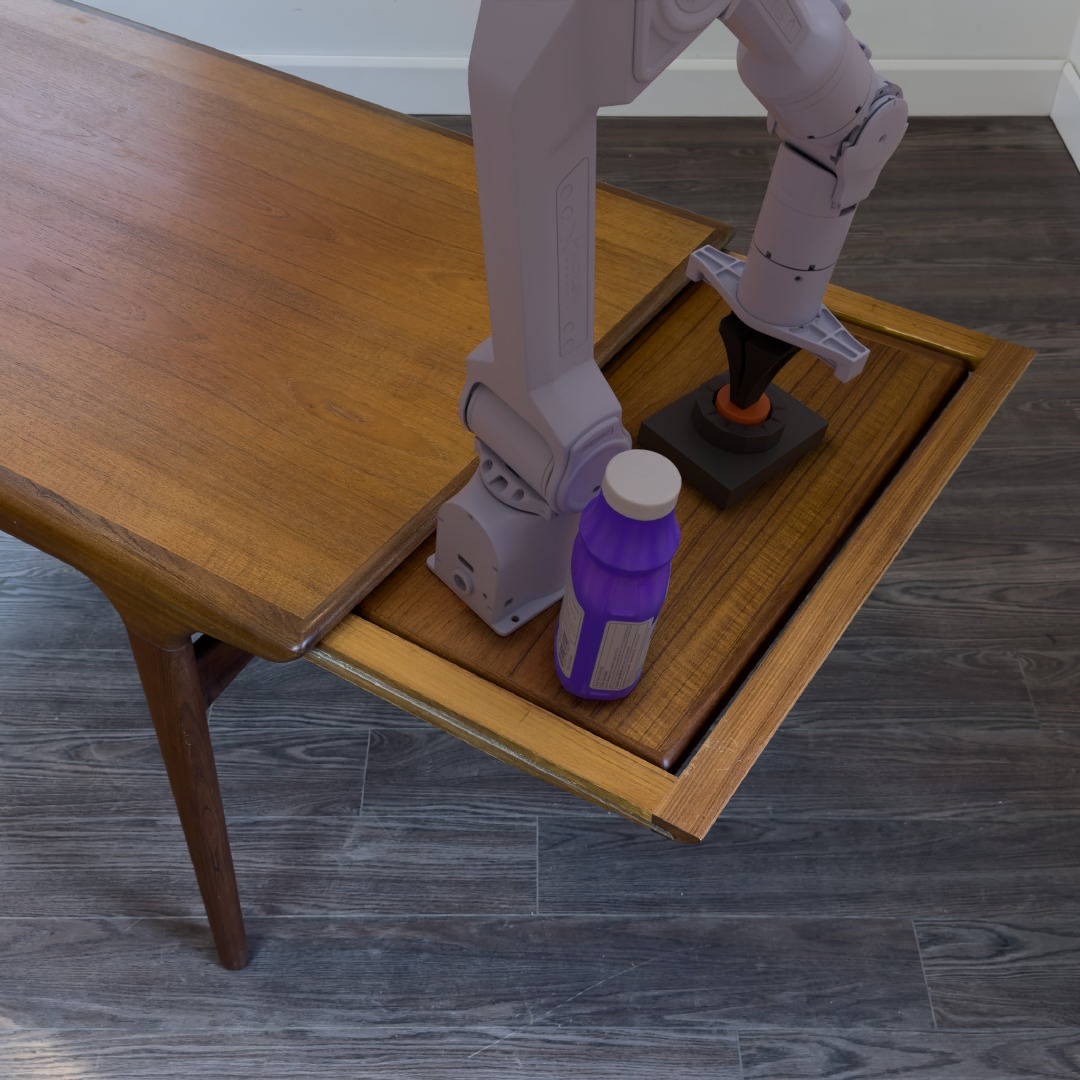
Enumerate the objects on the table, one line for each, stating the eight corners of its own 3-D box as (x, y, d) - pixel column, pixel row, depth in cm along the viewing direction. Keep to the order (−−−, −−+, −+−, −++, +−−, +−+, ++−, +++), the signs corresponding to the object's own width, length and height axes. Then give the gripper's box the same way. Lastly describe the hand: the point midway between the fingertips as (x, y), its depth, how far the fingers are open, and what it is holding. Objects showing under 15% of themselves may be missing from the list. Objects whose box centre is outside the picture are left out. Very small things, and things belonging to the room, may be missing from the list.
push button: (740, 446, 82) (747, 426, 81) (700, 416, 84) (706, 396, 82) (773, 424, 84) (781, 404, 83) (734, 395, 86) (740, 375, 84)
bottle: (640, 715, 68) (703, 530, 55) (549, 707, 68) (591, 519, 55) (636, 621, 73) (693, 430, 60) (551, 613, 73) (590, 420, 60)
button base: (724, 511, 81) (737, 473, 78) (635, 442, 85) (645, 403, 82) (821, 442, 87) (837, 405, 84) (735, 381, 91) (747, 342, 88)
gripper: (920, 279, 71) (852, 432, 81) (750, 176, 77) (706, 330, 88) (857, 319, 68) (794, 473, 78) (683, 207, 74) (646, 364, 84)
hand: (744, 400), depth 82 cm, fingers closed, pressing on push button
